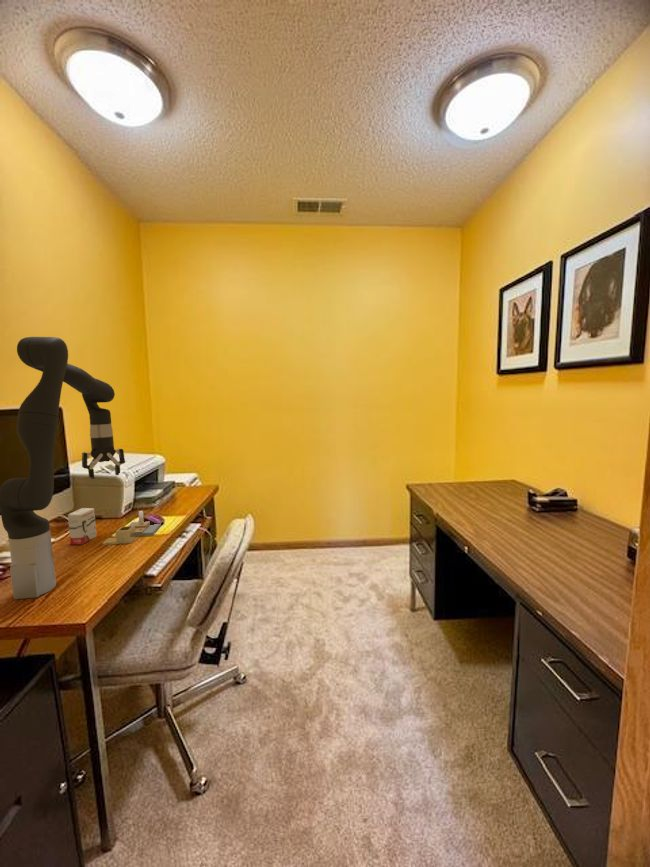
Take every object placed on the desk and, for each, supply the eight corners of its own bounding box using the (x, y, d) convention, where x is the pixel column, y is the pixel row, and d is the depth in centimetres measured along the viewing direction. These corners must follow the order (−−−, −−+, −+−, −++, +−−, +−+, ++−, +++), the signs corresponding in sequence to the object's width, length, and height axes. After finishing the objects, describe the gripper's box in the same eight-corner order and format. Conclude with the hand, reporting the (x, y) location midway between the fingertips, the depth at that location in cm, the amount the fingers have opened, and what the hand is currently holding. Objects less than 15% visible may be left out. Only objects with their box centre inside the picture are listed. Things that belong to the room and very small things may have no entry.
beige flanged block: (135, 537, 141) (134, 525, 141) (130, 543, 136) (129, 530, 136) (108, 539, 140) (107, 527, 139) (102, 545, 135) (101, 532, 134)
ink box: (82, 544, 136) (79, 514, 134) (70, 545, 136) (66, 514, 135) (97, 535, 144) (94, 507, 143) (85, 535, 144) (82, 507, 143)
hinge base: (153, 535, 144) (151, 515, 143) (118, 537, 142) (116, 518, 141) (163, 522, 157) (162, 505, 156) (132, 525, 156) (130, 507, 155)
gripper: (82, 438, 132) (86, 481, 134) (125, 434, 142) (128, 475, 144) (77, 436, 137) (81, 478, 139) (118, 433, 148) (121, 472, 149)
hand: (105, 476), depth 141 cm, fingers open, 8 cm apart
